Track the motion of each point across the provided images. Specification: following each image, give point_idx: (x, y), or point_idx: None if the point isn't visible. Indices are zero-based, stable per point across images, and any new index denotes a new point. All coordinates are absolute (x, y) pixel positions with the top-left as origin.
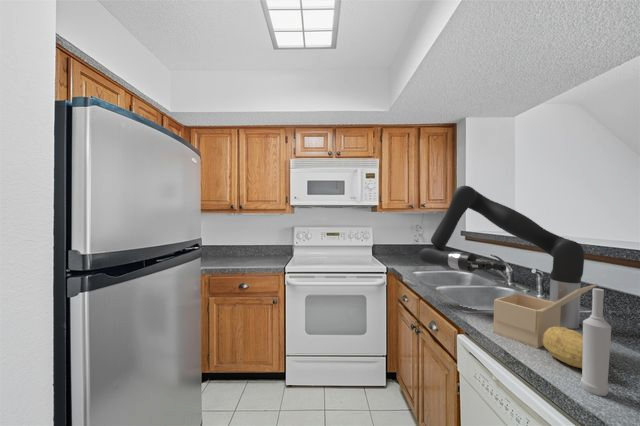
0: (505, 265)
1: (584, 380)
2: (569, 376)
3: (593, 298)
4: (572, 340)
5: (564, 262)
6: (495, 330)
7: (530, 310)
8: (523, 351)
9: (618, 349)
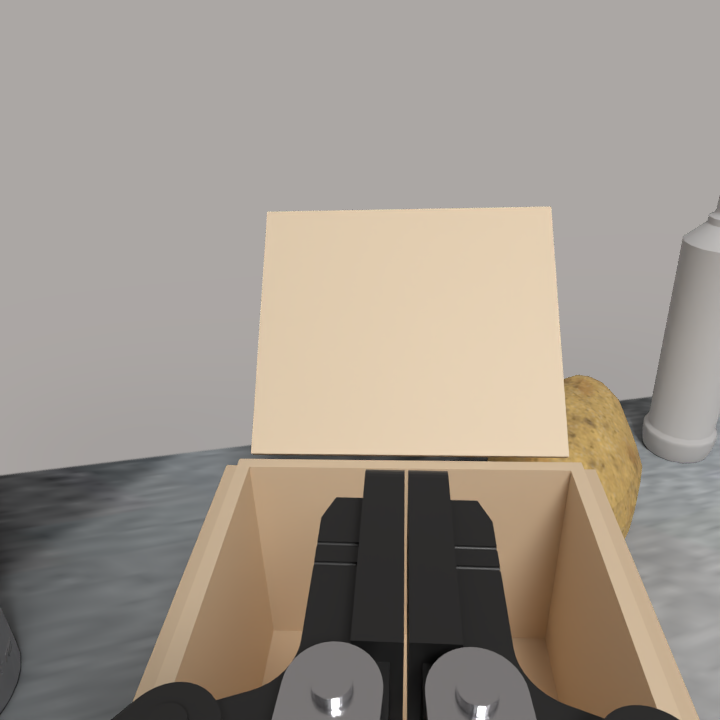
0: (373, 469)
1: (712, 432)
2: (674, 493)
3: None
4: (617, 410)
5: None
6: None
7: (603, 499)
8: (677, 660)
9: (205, 477)
